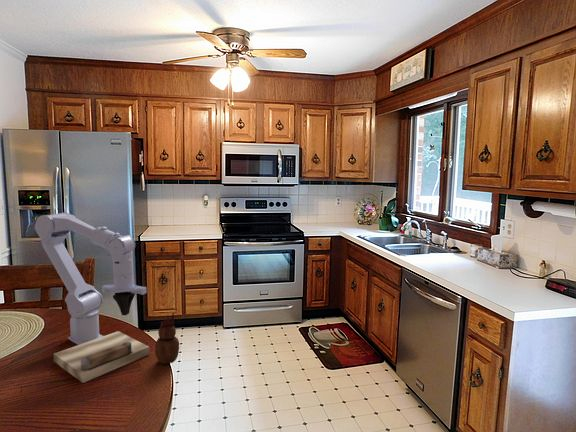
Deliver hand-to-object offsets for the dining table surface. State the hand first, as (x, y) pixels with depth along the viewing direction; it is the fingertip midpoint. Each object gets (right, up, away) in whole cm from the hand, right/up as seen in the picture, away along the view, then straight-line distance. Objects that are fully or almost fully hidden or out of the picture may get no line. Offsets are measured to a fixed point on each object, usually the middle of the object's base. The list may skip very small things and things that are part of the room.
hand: (125, 314), depth 120 cm
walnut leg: (+1, -9, -14) cm, 17 cm away
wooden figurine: (+17, -12, -9) cm, 22 cm away
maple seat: (-4, -11, -8) cm, 14 cm away
